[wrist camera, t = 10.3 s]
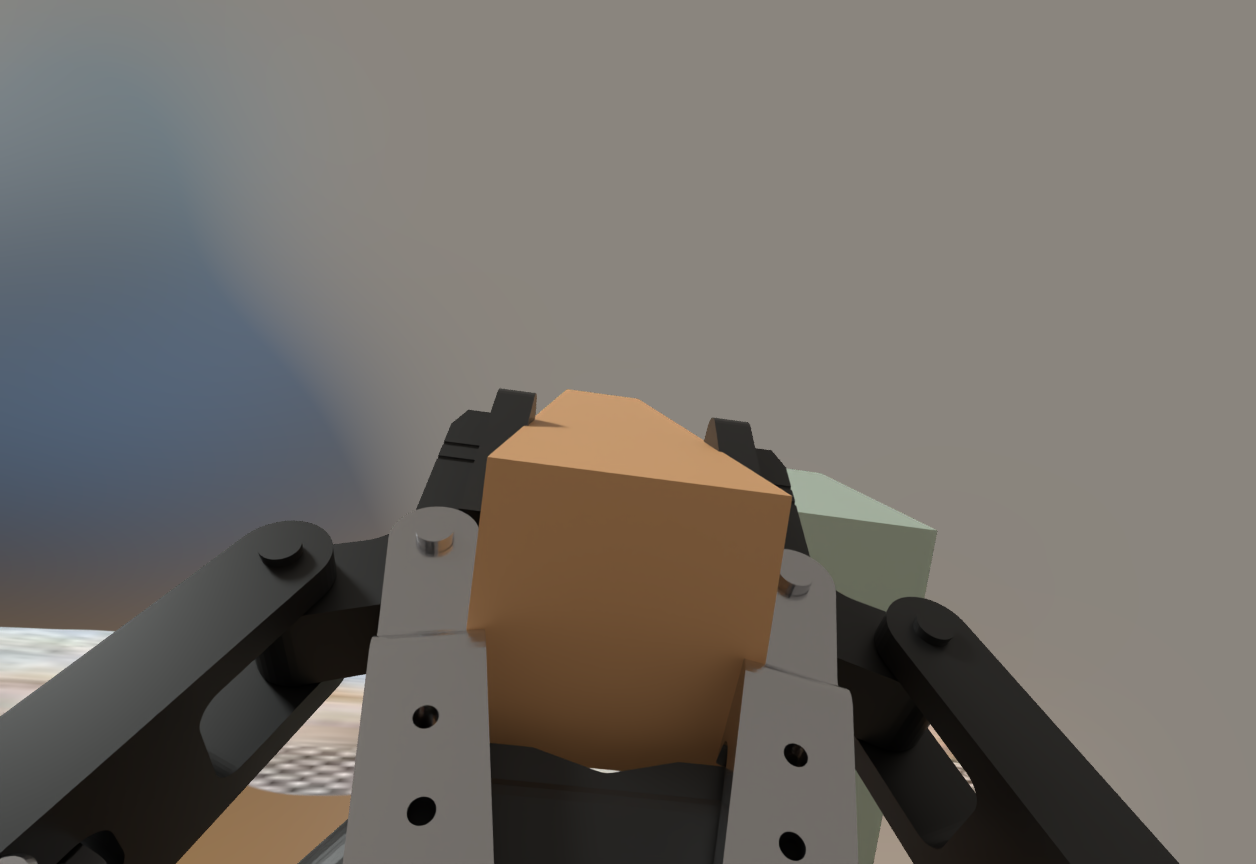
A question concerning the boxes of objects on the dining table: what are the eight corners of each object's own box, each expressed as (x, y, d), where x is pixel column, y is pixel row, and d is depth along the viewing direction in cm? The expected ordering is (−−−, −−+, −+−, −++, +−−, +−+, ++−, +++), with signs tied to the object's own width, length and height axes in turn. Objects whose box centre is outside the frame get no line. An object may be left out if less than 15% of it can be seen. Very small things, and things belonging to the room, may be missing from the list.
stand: (632, 1160, 33) (739, 508, 30) (617, 878, 51) (683, 452, 48) (854, 1175, 34) (980, 540, 31) (763, 892, 52) (837, 474, 49)
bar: (451, 753, 8) (487, 457, 8) (557, 459, 34) (567, 389, 34) (746, 784, 8) (792, 496, 8) (628, 469, 34) (638, 398, 34)
